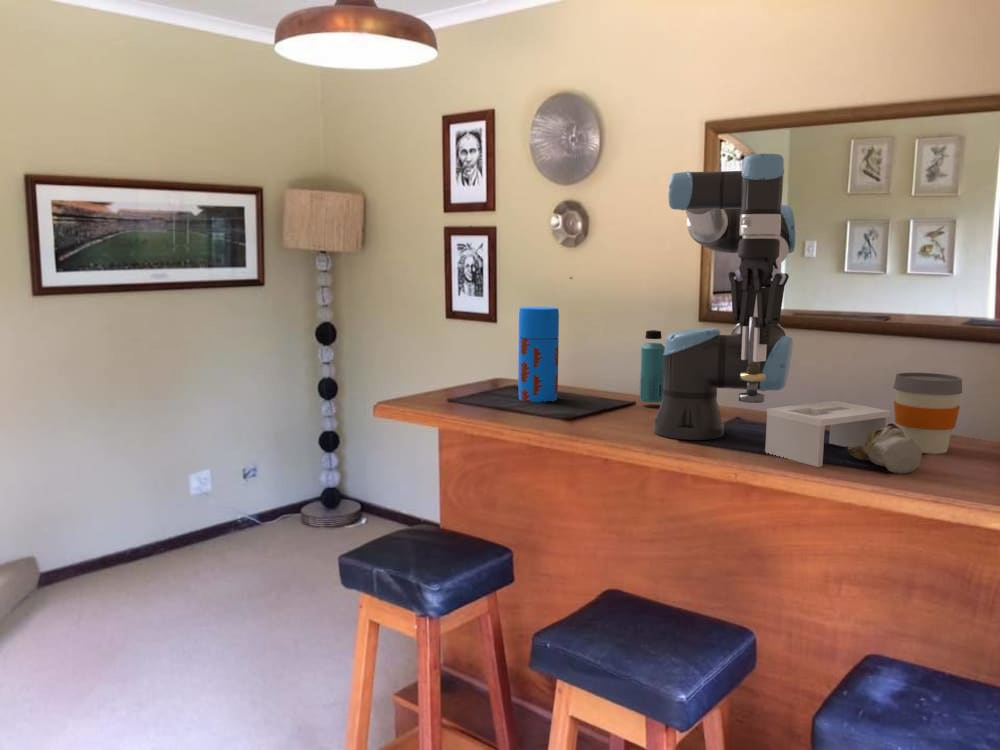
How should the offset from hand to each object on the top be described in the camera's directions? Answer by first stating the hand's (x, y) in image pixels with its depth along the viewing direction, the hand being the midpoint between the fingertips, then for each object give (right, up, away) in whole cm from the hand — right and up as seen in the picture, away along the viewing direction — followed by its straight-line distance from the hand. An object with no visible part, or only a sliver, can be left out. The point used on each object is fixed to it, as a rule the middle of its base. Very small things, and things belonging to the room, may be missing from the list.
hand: (753, 359), depth 162 cm
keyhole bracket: (+16, -19, +4) cm, 25 cm away
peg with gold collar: (0, -8, +1) cm, 8 cm away
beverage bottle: (-9, -11, +57) cm, 59 cm away
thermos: (-39, -10, +67) cm, 78 cm away
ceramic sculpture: (+24, -20, -5) cm, 32 cm away
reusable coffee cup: (+38, -18, +10) cm, 43 cm away
